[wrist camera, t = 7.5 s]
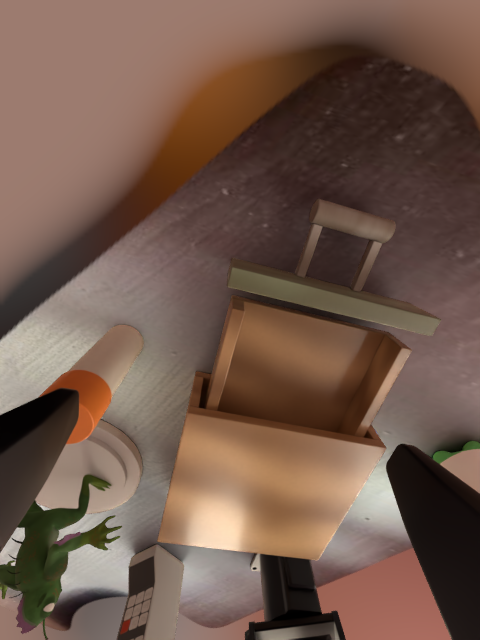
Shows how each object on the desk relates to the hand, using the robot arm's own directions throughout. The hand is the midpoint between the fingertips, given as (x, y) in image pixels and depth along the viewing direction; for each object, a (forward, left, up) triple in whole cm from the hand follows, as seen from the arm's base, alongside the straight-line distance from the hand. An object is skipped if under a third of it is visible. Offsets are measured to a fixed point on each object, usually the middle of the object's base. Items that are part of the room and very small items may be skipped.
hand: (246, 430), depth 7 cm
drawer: (-2, -6, -12) cm, 14 cm away
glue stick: (-6, +7, -13) cm, 16 cm away
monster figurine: (-20, +10, -13) cm, 26 cm away
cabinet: (-14, -6, -13) cm, 20 cm away
